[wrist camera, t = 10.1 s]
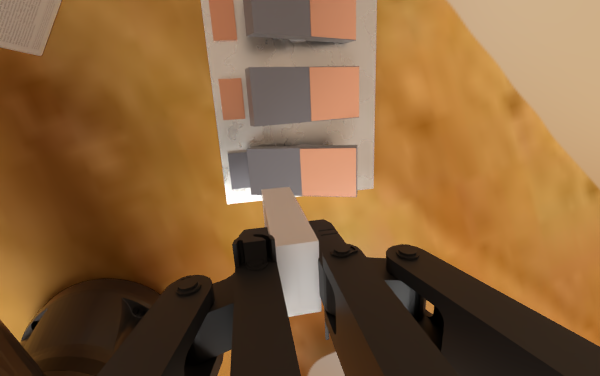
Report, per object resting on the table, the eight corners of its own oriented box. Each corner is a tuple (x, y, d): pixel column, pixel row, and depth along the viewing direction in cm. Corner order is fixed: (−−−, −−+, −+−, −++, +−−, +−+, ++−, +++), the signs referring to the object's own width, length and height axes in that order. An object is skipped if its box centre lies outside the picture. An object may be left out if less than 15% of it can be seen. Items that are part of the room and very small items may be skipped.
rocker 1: (240, 39, 21) (254, 32, 19) (233, -27, 20) (248, -41, 18) (337, 45, 26) (356, 40, 24) (337, -8, 25) (356, -18, 23)
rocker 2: (247, 125, 23) (255, 126, 21) (241, 70, 22) (249, 66, 20) (344, 116, 27) (359, 117, 25) (344, 69, 26) (359, 66, 24)
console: (229, 188, 32) (226, 205, 27) (205, -5, 26) (196, -30, 21) (355, 176, 34) (374, 189, 29) (355, -5, 29) (379, -28, 24)
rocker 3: (259, 187, 28) (250, 195, 26) (255, 144, 27) (246, 149, 25) (357, 188, 26) (356, 197, 24) (357, 142, 25) (356, 147, 23)
